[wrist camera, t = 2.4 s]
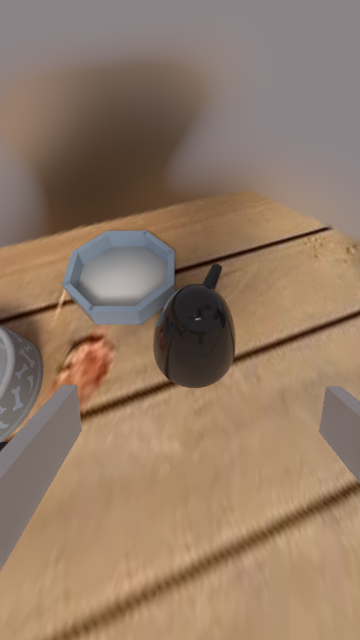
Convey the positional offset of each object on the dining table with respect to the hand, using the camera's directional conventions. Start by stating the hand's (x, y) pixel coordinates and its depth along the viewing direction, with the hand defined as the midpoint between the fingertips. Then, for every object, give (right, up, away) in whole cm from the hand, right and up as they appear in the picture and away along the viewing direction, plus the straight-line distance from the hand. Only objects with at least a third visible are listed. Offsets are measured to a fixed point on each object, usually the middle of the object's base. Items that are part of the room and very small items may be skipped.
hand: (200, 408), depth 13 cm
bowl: (-11, +11, +30) cm, 34 cm away
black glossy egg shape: (+1, -1, +23) cm, 23 cm away
